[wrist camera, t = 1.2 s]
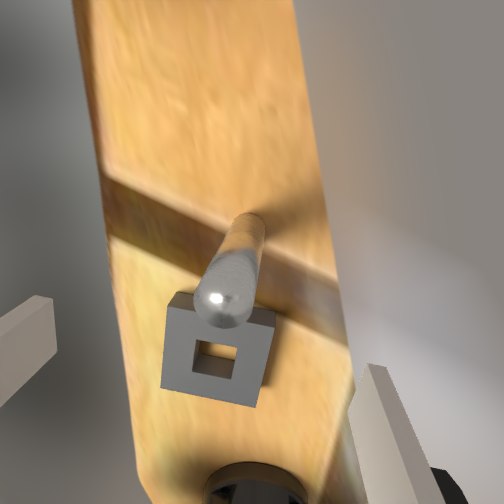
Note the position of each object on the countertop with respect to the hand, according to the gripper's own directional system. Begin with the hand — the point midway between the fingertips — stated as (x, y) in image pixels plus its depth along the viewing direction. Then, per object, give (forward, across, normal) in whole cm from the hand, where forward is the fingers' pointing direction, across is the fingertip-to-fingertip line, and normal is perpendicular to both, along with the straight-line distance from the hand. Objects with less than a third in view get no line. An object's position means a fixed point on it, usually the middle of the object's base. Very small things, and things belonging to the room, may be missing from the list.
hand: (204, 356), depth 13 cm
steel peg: (+19, 0, 0) cm, 19 cm away
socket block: (+18, +1, +14) cm, 23 cm away
